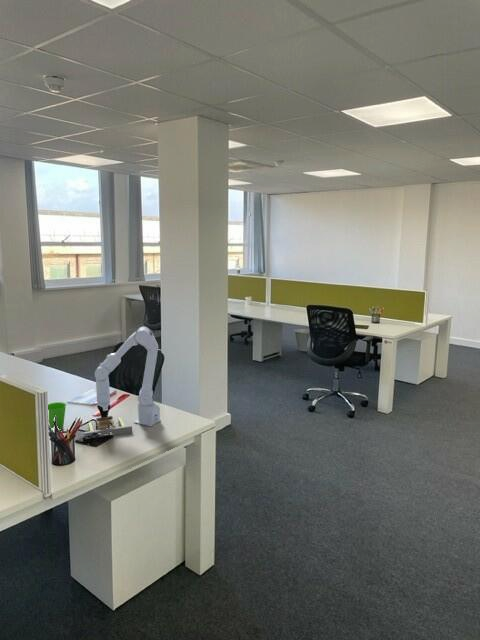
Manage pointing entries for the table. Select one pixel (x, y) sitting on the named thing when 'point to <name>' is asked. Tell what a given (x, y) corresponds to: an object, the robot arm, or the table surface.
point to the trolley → (104, 422)
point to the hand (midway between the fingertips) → (104, 420)
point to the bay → (115, 431)
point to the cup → (57, 413)
